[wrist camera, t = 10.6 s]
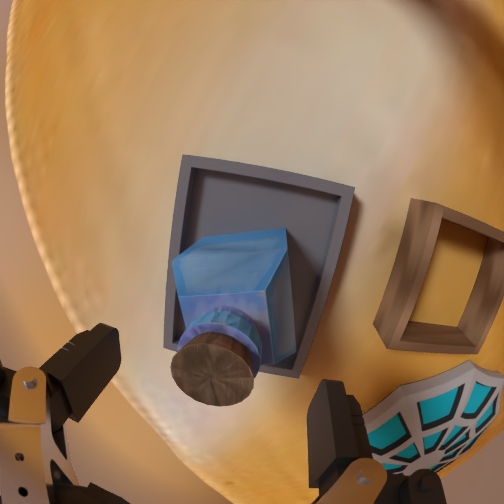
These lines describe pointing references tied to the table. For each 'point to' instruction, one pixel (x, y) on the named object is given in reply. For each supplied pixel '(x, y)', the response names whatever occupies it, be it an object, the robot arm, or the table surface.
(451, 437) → the decorative platform
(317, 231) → the tray
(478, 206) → the table surface
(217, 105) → the table surface
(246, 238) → the perfume bottle
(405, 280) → the holder
